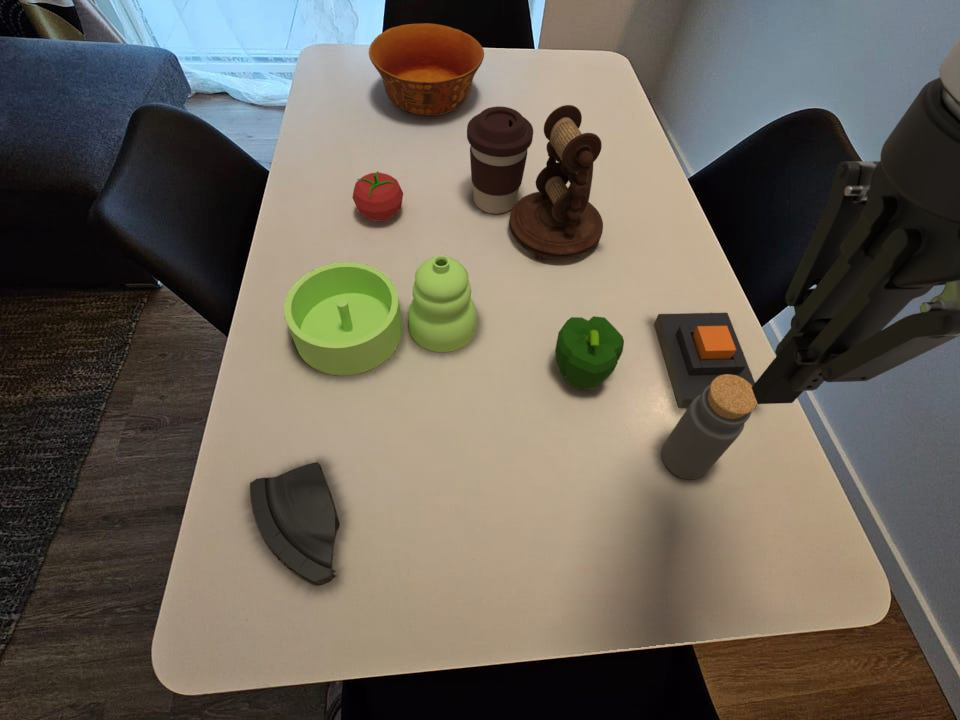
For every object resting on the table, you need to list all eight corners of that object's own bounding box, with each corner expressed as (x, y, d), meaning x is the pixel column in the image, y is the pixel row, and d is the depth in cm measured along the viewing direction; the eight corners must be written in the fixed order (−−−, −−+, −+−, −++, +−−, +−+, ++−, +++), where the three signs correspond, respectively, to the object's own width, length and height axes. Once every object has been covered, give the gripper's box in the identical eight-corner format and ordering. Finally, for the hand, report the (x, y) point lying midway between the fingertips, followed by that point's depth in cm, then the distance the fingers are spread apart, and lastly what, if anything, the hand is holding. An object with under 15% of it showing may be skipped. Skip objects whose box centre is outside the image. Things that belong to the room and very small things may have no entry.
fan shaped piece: (275, 604, 58) (270, 600, 57) (250, 488, 65) (246, 482, 64) (354, 571, 60) (351, 567, 59) (322, 462, 67) (319, 456, 66)
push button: (753, 405, 74) (767, 389, 71) (678, 408, 74) (689, 391, 70) (721, 322, 82) (732, 304, 79) (653, 323, 82) (662, 305, 78)
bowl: (492, 81, 117) (495, 30, 109) (467, 140, 105) (468, 88, 97) (395, 65, 119) (390, 14, 111) (360, 122, 107) (352, 69, 99)
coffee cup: (453, 204, 95) (453, 121, 82) (487, 174, 100) (492, 92, 87) (503, 228, 92) (510, 147, 80) (535, 196, 97) (547, 115, 84)
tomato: (348, 223, 91) (340, 184, 85) (366, 193, 96) (360, 154, 89) (395, 234, 90) (390, 195, 84) (411, 203, 95) (408, 164, 88)
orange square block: (730, 359, 74) (736, 350, 72) (700, 360, 74) (706, 350, 72) (721, 335, 76) (727, 325, 75) (692, 335, 76) (697, 326, 74)
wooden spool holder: (615, 255, 89) (650, 142, 73) (527, 274, 86) (543, 160, 70) (577, 196, 97) (602, 82, 81) (496, 211, 94) (504, 96, 78)
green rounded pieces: (291, 379, 74) (265, 318, 64) (298, 295, 82) (276, 229, 72) (482, 365, 76) (486, 303, 66) (470, 284, 85) (472, 219, 74)
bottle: (652, 443, 70) (694, 376, 58) (693, 431, 72) (743, 363, 59) (675, 485, 67) (725, 425, 55) (718, 472, 69) (775, 409, 56)
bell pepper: (563, 338, 79) (576, 290, 71) (619, 361, 77) (638, 315, 69) (539, 382, 75) (549, 336, 67) (597, 408, 73) (615, 364, 65)
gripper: (870, 32, 28) (700, 329, 47) (1032, 210, 20) (751, 476, 40) (1014, 34, 28) (787, 327, 48) (1224, 208, 21) (854, 472, 40)
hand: (771, 395), depth 44 cm, fingers closed
